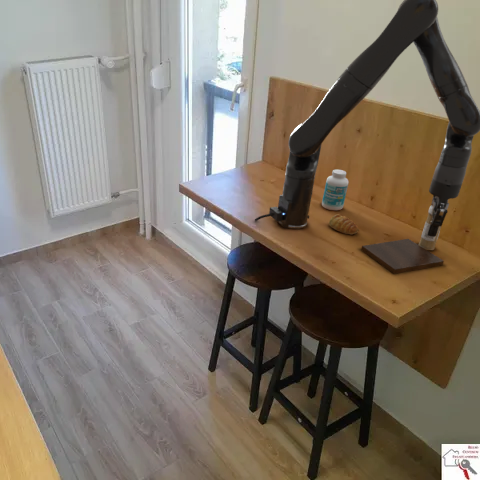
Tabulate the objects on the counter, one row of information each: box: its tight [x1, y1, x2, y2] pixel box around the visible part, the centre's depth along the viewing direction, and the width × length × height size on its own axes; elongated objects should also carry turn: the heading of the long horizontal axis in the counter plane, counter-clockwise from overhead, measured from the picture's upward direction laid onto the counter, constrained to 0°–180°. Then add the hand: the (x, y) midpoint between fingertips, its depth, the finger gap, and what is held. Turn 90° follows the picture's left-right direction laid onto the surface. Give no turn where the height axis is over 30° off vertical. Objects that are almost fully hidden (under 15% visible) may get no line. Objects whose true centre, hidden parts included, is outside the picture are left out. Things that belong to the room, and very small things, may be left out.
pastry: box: [328, 214, 360, 235], centre depth 154 cm, size 9×7×4 cm
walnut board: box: [360, 238, 445, 275], centre depth 139 cm, size 17×14×2 cm
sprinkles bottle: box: [418, 204, 442, 251], centre depth 142 cm, size 5×5×13 cm
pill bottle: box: [321, 169, 350, 211], centre depth 168 cm, size 8×7×14 cm
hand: (430, 232), depth 142 cm, fingers closed on sprinkles bottle, 4 cm apart
